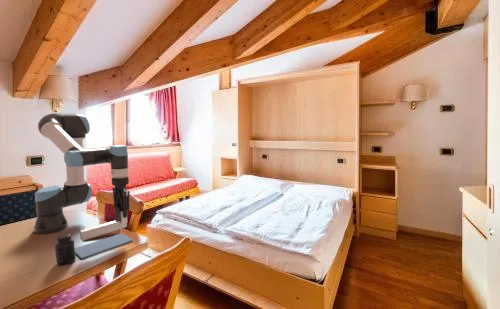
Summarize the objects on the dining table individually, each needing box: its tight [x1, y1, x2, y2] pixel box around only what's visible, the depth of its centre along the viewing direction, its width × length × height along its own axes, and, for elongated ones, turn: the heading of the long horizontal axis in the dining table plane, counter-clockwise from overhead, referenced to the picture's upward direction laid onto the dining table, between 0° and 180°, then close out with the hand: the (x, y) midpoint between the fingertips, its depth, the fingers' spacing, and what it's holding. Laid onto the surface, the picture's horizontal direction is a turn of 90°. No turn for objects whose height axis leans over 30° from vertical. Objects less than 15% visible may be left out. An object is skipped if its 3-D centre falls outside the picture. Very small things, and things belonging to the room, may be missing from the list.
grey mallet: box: [79, 205, 128, 242], centre depth 123 cm, size 4×20×11 cm, turn 141°
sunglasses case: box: [82, 229, 121, 243], centre depth 138 cm, size 18×7×7 cm, turn 121°
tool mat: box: [75, 232, 134, 260], centre depth 126 cm, size 12×23×1 cm, turn 141°
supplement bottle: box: [54, 233, 77, 267], centre depth 111 cm, size 7×7×12 cm
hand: (122, 221), depth 129 cm, fingers closed on grey mallet, 4 cm apart
